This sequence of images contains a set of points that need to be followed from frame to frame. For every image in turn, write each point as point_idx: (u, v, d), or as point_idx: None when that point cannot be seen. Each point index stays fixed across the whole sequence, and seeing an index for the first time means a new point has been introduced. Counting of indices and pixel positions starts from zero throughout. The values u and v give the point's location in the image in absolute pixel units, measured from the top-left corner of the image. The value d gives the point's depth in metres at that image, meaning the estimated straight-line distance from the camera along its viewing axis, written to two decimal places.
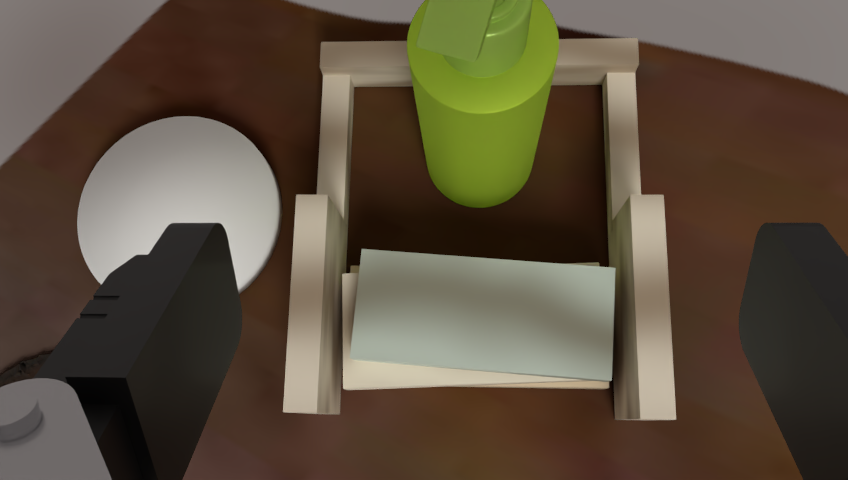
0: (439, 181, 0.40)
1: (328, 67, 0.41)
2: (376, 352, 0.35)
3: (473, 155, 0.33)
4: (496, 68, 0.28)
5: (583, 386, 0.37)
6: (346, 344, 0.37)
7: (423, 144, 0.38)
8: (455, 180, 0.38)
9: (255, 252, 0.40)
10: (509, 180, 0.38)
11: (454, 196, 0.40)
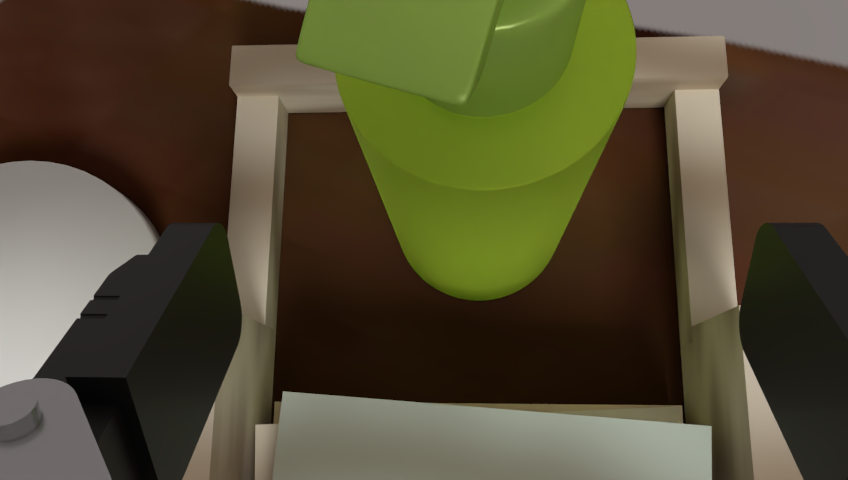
0: (415, 265, 0.25)
1: (242, 85, 0.27)
2: None
3: (467, 246, 0.19)
4: (512, 100, 0.13)
5: None
6: None
7: None
8: (439, 271, 0.23)
9: None
10: (527, 269, 0.23)
11: (439, 286, 0.26)
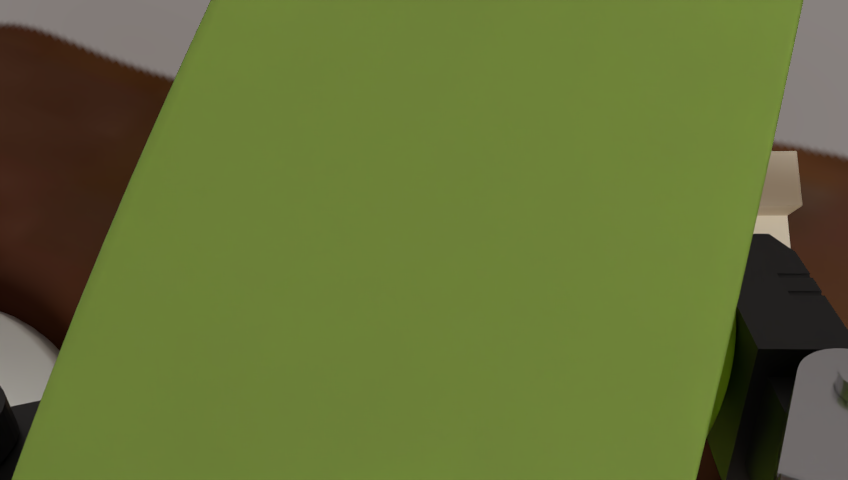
0: None
1: None
2: None
3: None
4: None
5: None
6: None
7: None
8: None
9: None
10: None
11: None
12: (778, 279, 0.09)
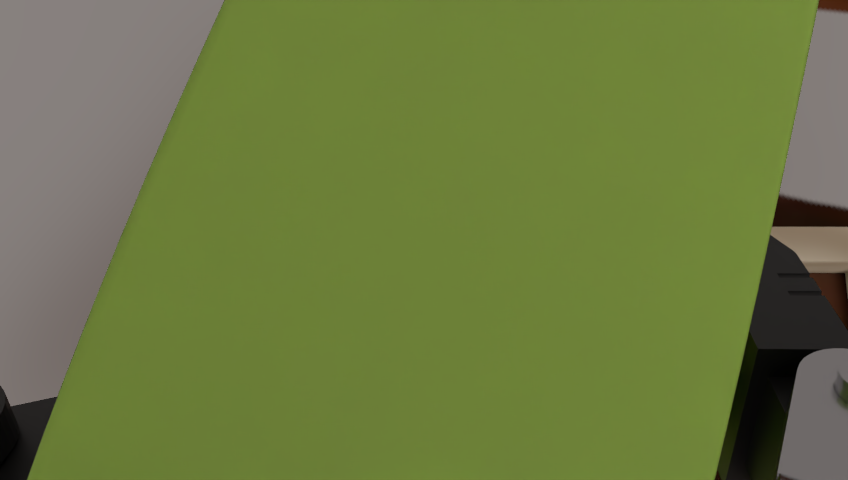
0: None
1: None
2: None
3: None
4: None
5: None
6: None
7: None
8: None
9: None
10: None
11: None
12: (778, 279, 0.09)
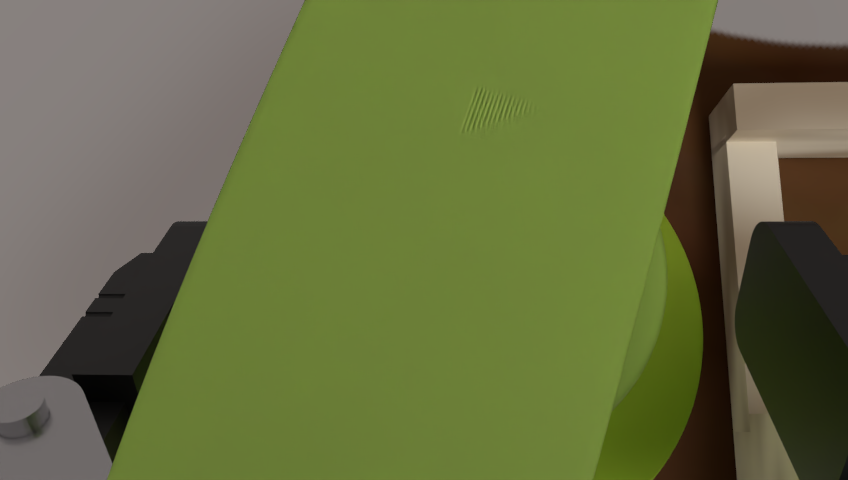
0: None
1: (751, 131, 0.23)
2: None
3: None
4: None
5: None
6: None
7: None
8: None
9: None
10: None
11: None
12: None
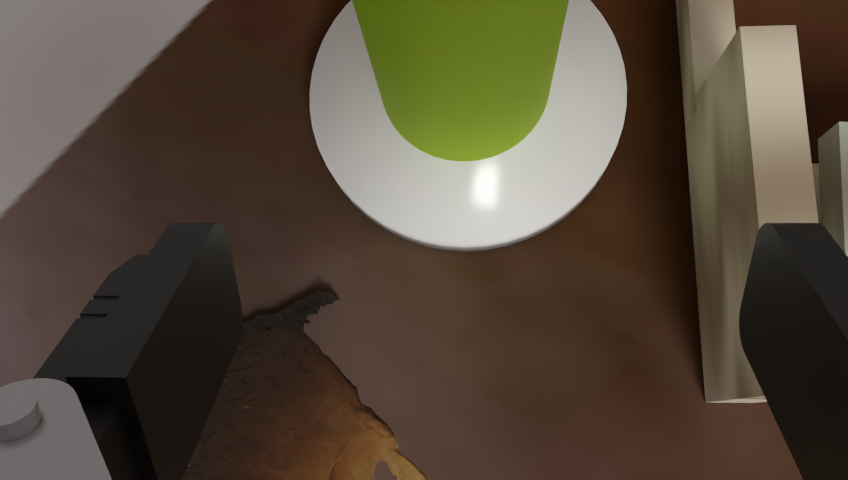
0: (397, 115, 0.24)
1: None
2: None
3: (442, 40, 0.18)
4: None
5: None
6: None
7: None
8: (419, 107, 0.22)
9: (600, 148, 0.26)
10: (512, 107, 0.22)
11: (422, 141, 0.25)
12: None
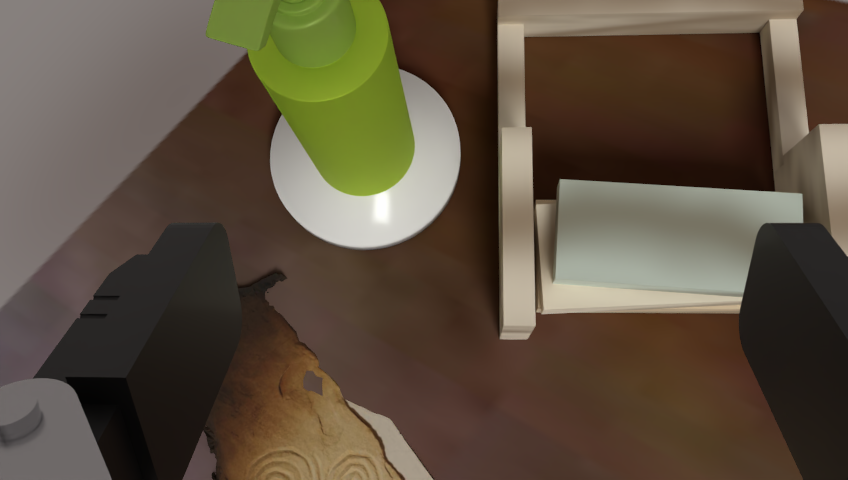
0: (318, 170, 0.41)
1: (506, 16, 0.44)
2: (580, 273, 0.38)
3: (327, 142, 0.35)
4: (322, 59, 0.30)
5: None
6: (544, 269, 0.39)
7: None
8: (327, 169, 0.39)
9: (442, 189, 0.43)
10: (379, 168, 0.39)
11: (335, 184, 0.42)
12: None
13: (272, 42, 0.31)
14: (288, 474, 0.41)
